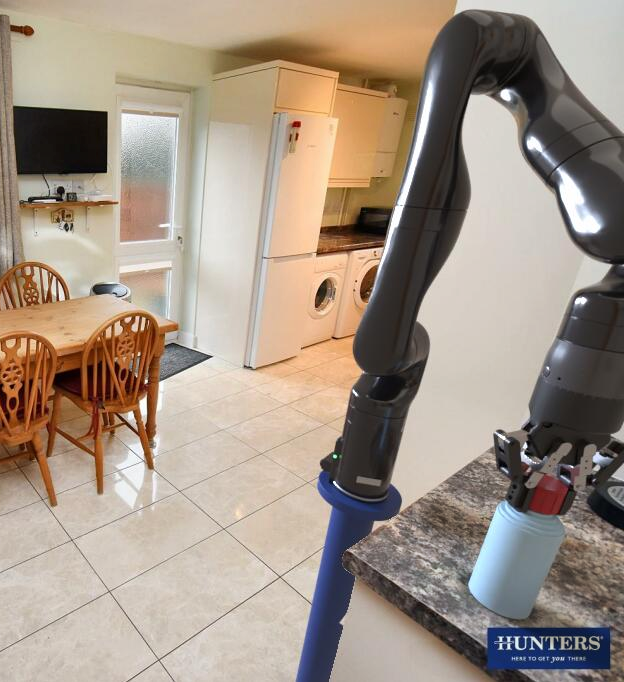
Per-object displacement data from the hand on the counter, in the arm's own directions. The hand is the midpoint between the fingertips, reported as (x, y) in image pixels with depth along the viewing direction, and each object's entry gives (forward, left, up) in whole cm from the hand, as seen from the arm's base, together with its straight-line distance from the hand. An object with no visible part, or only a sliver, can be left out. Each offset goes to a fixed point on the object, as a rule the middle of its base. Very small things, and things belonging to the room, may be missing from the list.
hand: (535, 508), depth 55 cm
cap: (0, 0, +1) cm, 1 cm away
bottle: (0, 0, -15) cm, 15 cm away
